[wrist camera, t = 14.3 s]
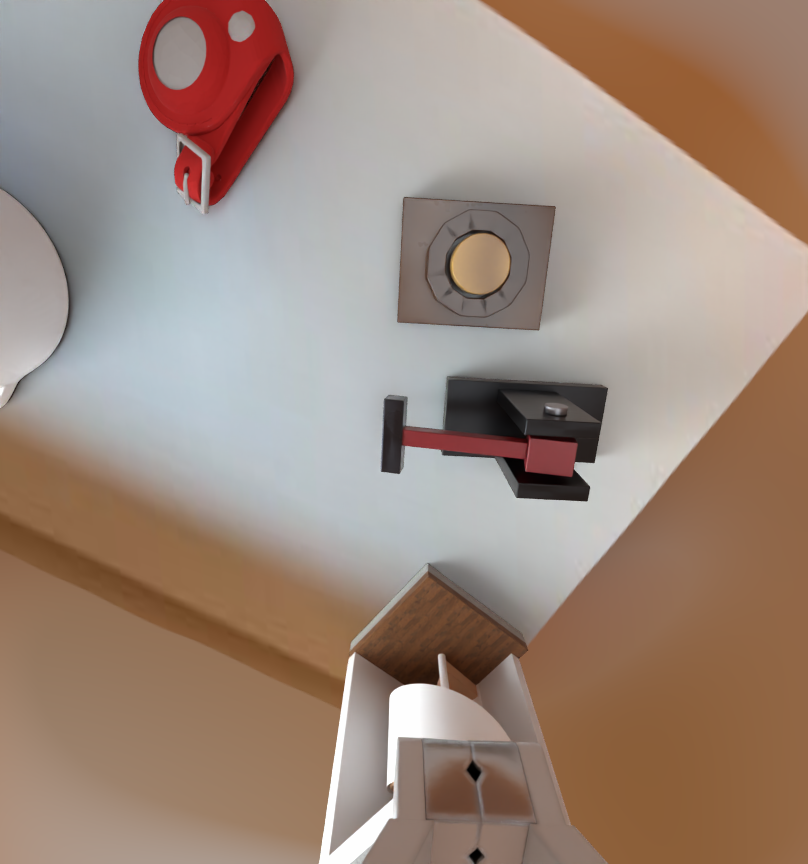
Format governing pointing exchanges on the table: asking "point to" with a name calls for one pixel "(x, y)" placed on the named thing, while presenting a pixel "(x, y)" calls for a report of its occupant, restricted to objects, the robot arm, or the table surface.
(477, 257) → the bell button
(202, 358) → the table surface
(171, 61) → the tracker holder
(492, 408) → the black lever base
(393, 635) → the display case
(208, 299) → the table surface
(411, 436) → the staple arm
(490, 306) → the block
